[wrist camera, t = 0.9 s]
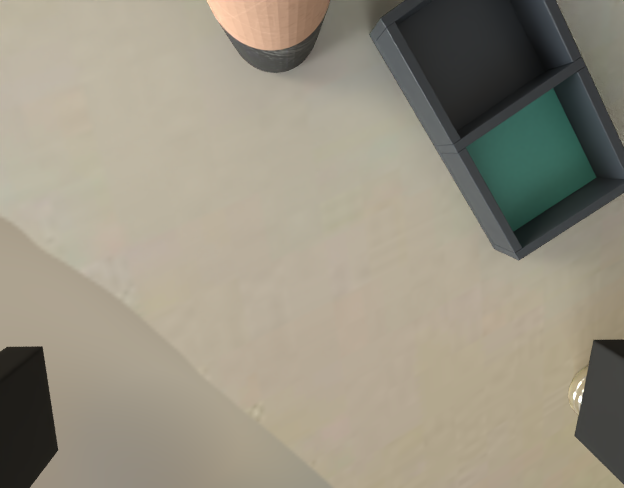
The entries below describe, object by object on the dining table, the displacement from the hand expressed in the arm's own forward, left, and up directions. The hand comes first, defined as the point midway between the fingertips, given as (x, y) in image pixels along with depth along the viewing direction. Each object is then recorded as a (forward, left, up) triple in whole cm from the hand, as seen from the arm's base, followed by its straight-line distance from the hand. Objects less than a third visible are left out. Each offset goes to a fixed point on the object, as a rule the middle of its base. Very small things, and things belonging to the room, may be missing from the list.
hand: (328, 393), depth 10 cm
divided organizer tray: (+2, +19, -27) cm, 33 cm away
